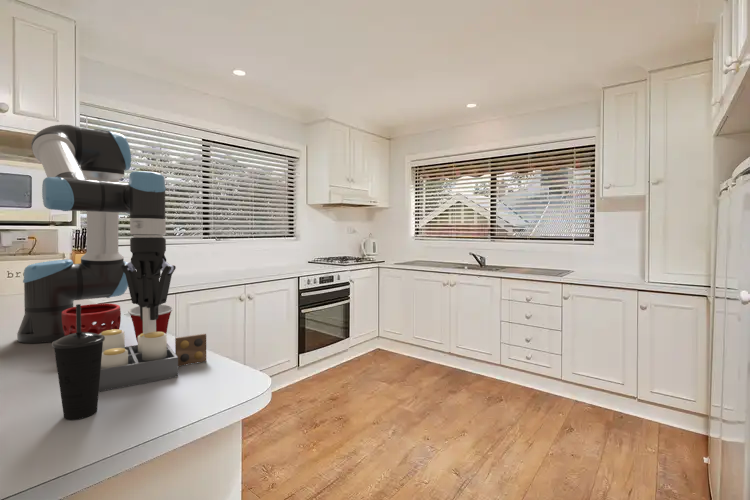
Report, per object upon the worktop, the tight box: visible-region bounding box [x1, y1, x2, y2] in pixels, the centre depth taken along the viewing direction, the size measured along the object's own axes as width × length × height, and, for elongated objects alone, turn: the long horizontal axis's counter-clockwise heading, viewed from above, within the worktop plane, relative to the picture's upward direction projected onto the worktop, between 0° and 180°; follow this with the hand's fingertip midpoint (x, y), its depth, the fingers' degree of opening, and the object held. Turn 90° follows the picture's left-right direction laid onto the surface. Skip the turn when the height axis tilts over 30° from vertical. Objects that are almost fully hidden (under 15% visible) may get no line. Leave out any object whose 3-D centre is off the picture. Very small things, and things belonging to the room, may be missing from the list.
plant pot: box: [62, 303, 122, 336], centre depth 109 cm, size 13×13×12 cm
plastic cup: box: [127, 304, 174, 344], centre depth 109 cm, size 11×11×12 cm
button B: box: [137, 333, 144, 353], centre depth 98 cm, size 5×5×5 cm
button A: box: [99, 328, 126, 353], centre depth 93 cm, size 5×5×5 cm
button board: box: [99, 343, 179, 392], centre depth 92 cm, size 16×16×4 cm
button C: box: [101, 348, 128, 369], centre depth 87 cm, size 5×5×5 cm
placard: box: [174, 333, 207, 367], centre depth 100 cm, size 1×7×7 cm, turn 127°
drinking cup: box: [51, 304, 105, 421], centre depth 72 cm, size 8×8×20 cm
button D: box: [142, 332, 168, 361], centre depth 91 cm, size 5×5×5 cm
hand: (149, 332), depth 97 cm, fingers closed
